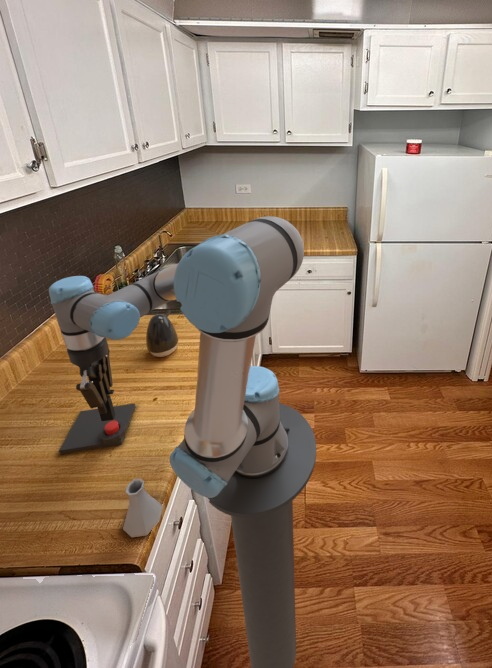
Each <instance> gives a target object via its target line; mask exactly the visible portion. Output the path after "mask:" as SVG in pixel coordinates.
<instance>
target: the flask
mask: <svg viewBox="0 0 492 668" xmlns="http://www.w3.org/2000/svg"><path fill="white" fill-rule="evenodd" d="M125 494H126V495H128V507H127V512H126V516H125V520H124V523H123V527H122V530H123V531H124V532H125V533H126V534H127V535H128V536H129V537H131V538H136V537H137V538H138V537H144V536H145V537H146V536H148V535H149V534H150V533H151V532H152V530H153V529H154V528H155V527H156V526H157V524H158V523H160V520H161V517H162V513H163V509H164V505H163V504H162V503H160V502H159V501H158V500H157V499H156V498H154V497H153V496H151V495H150V494H149V493H148V492H147V490H146V489H145V481H144V480H143V479H142V478H133V479H132V480H131V481H130V482H129V483H128V484H127V487H126V489H125Z"/></svg>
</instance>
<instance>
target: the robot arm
mask: <svg viewBox="0 0 492 668" xmlns="http://www.w3.org/2000/svg"><path fill="white" fill-rule="evenodd" d="M304 256H305V245H304V240H303V238H302V236H301V234H300V232H299V231H298V229H297V228H296V227H295V226H294V225H293V224H292V223H291V222H289V221H288V220H286V219H283V218H282V217H278V216H273V215H269V216H268V215H267V216H260V217H257V218H255V219H252V220H250V221H248V222H245V223H244V224H241V225H239V226H237V227H235V228H233V229H231V230H229V231H226V232H225V233H222V234H218V235H214V236H211V237H208V238H206V239H204V240H203V241H202V242H200V243H199V244H198V245H195V246H194V247H193V248H190V249H189V250H188V251H187V252H186V253H185V254H184V255H182V257H181V258H180V260H179V261H178V263H176V264H173V265H170V266H168V267H165V268H162V269H159V270H157V271H155V272H153V273H152V274H149V275H147V276H145V277H143V278H141V279H138V280H137V281H134V282H132V283H131V284H129V285H126V286H125V287H122V288H120V289H118V290H116V291H114V292H111V293H109V294H102V293H100V292H96V291H95V289H94V288H95V287H94V285H93V282H92V281H91V279H90V278H89V277H87V276H85V275H75V276H73V275H72V276H68V277H64V278H61V279H58V280H57V281H55V282H54V283H52V284H51V285H50V286H49V287H48V294H49V298H50V305H51V306H52V309H53V312H54V315H55V318H56V320H57V324H58V327H59V330H60V335H61V336H62V338H63V341H64V345H65V348H66V352H67V355H68V358H69V361H70V363H71V364H72V365H74V366H76V367H78V368H79V375H80V377H81V381H80V382H79V383H76V386H75V389H76V390H77V391H79V392H80V393H81V395H82V396H83V399H84V400H85V402H86V403H87V405H88V406H89V408H90V409H98V411H99V414H100V417H101V421H108V420H114V417H115V415H116V414H115V411H114V407H113V406H114V404H113V399H112V396H111V395H113V394H114V393H115V389H111V388H113V385H114V384H113V383H114V382H113V374H112V367H111V361H110V349H109V343H108V340H113V341H119V340H120V341H121V340H123V339H126V338H128V337H130V335H132V334H133V331H135V329H137V328H138V326H139V323H140V319H141V318H142V317H144V316H146V315H147V314H149V313H150V312H152V311H154V310H155V309H157V308H160V307H161V306H163V305H164V304H168V303H169V302H170V303H171V302H173V301H176V302H179V303H180V304H181V306H180V308H179V310H180V311H181V313H182V314H183V316H184V317H185V318H186V320H187V321H188V322H189V323H190V324H192V325H193V326H194V328H195V329H196V330H197V331H199V332H200V333H199V346H198V359H197V360H198V361H197V374H196V386H195V387H196V388H195V398H194V399H195V401H194V409H193V410H192V411H191V413H190V414H189V416H188V417H187V418H186V419H187V420H186V422H185V426H184V430H183V431H184V434H183V439H182V441H181V442H180V443H179V444H178V445H177V446H175V447H174V449H173V450H172V452H171V454H170V455H169V465H170V467H171V469H172V471H173V472H174V474H175V475H176V476H177V478H179V480H180V481H181V482H182V483H183V484H185V486H187V487H188V488H189V489H191V490H192V491H193V492H194V493H196V494H198V495H199V496H202V497H204V498H207V499H208V498H213V497H215V496H217V495H218V494H219V493H220V492H221V490H222V489H223V488H224V487H225V486H226V485H227V484H228V483H227V482H228V481H229V479H230V478H231V477H232V475H233V474H234V473H236V474H237V475H239V476H241V477H243V478H247V479H259V478H263V477H266V476H268V475H270V474H272V473H273V472H274V471H276V470H277V469H278V468H279V467H280V466H281V464H282V463H283V461H284V460H285V458H286V455H287V451H288V438H287V434H286V431H289V430H290V429H289V428H283V426H282V424H281V422H280V414H279V403H280V387H279V381H278V378H277V376H276V375H275V373H274V372H273V371H272V370H271V369H269V368H266V367H264V366H260V365H252V358H253V353H254V350H255V349H254V348H255V344H256V343H255V342H256V336H257V335H258V334H260V333H262V331H264V330H265V328H266V327H267V325H268V321H269V319H270V314H271V308H272V303H273V299H274V297H275V294H276V292H277V291H279V290H280V289H281V288H282V287H283V286H285V285H286V284H287V283H288V282H289V281H290V280H291V279H292V278H294V277H295V276H296V275H297V273H298V271H299V270H300V268H301V267H302V264H303V261H304V258H305V257H304ZM107 339H108V340H107Z"/></svg>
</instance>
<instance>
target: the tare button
mask: <svg viewBox="0 0 492 668" xmlns="http://www.w3.org/2000/svg"><path fill="white" fill-rule="evenodd" d="M104 429H105V432H106V434H107V435H113V434H115V433H116V432H117V431H118V430H119V425H118V422H117V421H111V422H109V423H107V424H106V426H105V428H104Z"/></svg>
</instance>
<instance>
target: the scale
mask: <svg viewBox="0 0 492 668" xmlns="http://www.w3.org/2000/svg"><path fill="white" fill-rule="evenodd" d="M113 407H114V411H115V414H116V415H115V417H114V420H108V421H101V417H100V414H99V411H98V408H91V409H86V410H85V409H84V410H81V411H80V412H79V413H78V415H77V417H76V419H75V421H74V423H73V424H72V426H71V428H70V429H69V431H68V434H67V435H66V437H65V439H64V440H63V442H62V444H61V446H60V448H59V450H58V452H59V455H66V454H72V453H79V452H84V451H90V450H96V449H97V450H98V449H103V448H109V447H113V446H114V447H115V446H120V445H123V443H124V440H125V438H126V435H127V432H128V430H129V427H130V424H131V421H132V418H133V417H134V413H135V410H136V403H135V402H134V403H127V404H121V405H113ZM111 421H117V422H118V425H119V430H118V431H117V432H116V433H115V434H113V435H107V434H106V432H105V429H104V428H105V426H106V424H107V423H109V422H111Z"/></svg>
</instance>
